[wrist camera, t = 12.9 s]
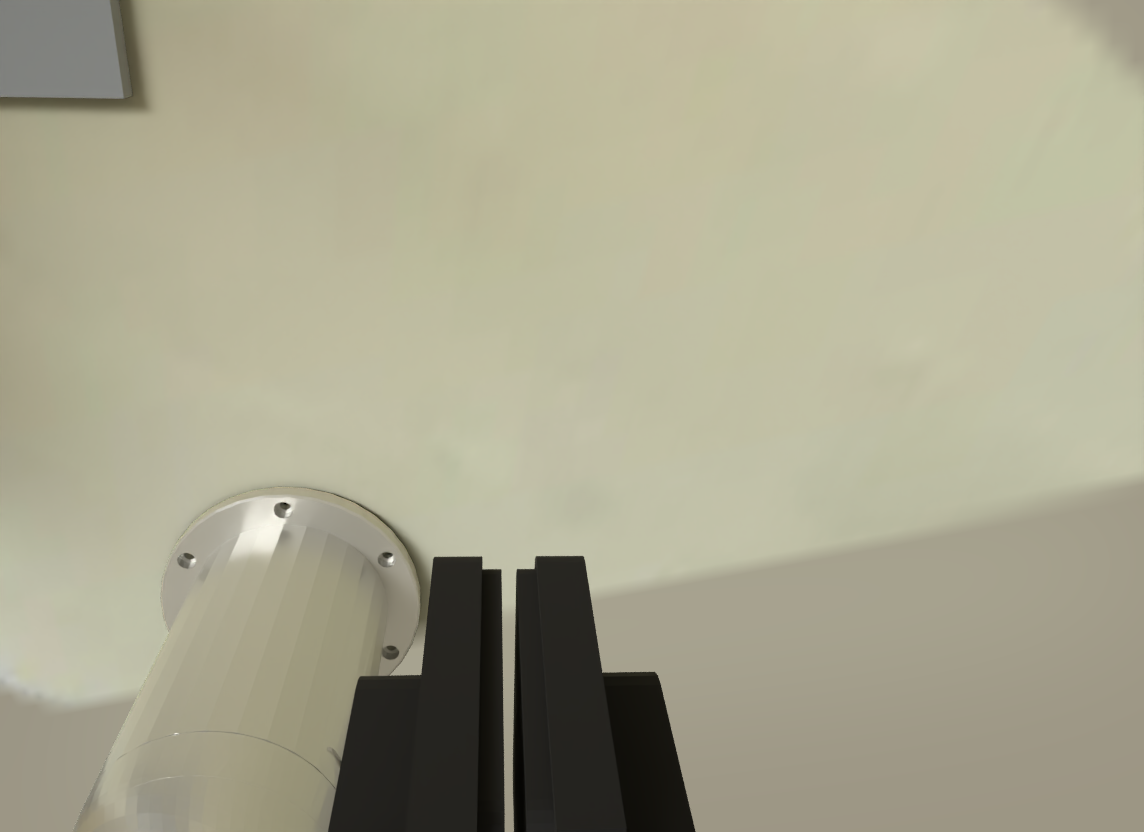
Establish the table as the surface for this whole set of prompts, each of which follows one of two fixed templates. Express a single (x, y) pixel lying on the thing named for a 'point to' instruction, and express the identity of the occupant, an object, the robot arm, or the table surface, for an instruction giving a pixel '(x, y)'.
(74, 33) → the notebook
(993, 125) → the table surface
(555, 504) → the table surface
